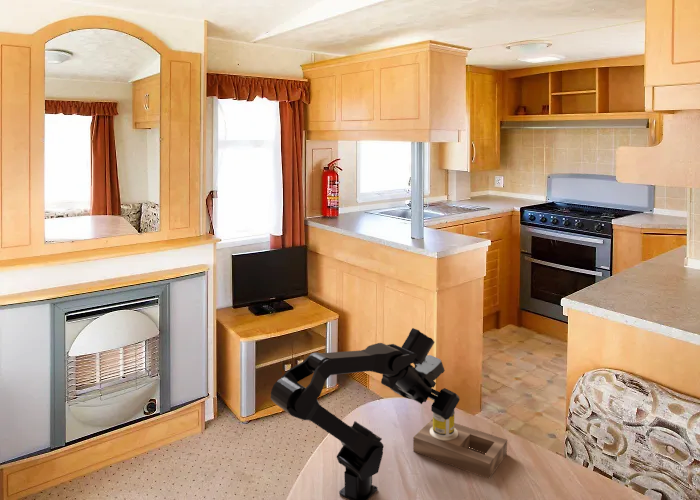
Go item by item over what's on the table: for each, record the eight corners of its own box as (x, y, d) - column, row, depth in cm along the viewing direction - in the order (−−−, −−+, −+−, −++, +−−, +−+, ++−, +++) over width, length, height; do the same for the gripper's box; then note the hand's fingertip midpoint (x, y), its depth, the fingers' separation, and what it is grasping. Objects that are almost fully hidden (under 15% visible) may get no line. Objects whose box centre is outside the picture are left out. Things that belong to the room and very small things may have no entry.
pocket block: (488, 479, 124) (489, 462, 123) (413, 451, 136) (413, 435, 135) (506, 454, 134) (507, 438, 133) (434, 429, 145) (434, 415, 144)
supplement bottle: (450, 425, 139) (450, 391, 137) (457, 436, 134) (458, 401, 132) (429, 427, 139) (430, 392, 136) (436, 439, 133) (436, 403, 131)
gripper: (455, 362, 120) (484, 393, 129) (399, 338, 134) (428, 367, 143) (430, 405, 117) (461, 433, 126) (375, 376, 131) (407, 403, 140)
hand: (439, 407), depth 134 cm, fingers open, 9 cm apart
